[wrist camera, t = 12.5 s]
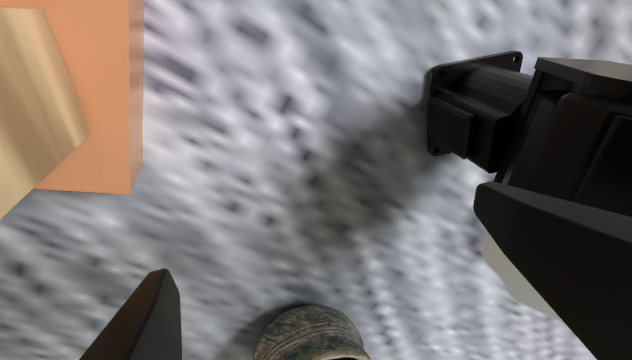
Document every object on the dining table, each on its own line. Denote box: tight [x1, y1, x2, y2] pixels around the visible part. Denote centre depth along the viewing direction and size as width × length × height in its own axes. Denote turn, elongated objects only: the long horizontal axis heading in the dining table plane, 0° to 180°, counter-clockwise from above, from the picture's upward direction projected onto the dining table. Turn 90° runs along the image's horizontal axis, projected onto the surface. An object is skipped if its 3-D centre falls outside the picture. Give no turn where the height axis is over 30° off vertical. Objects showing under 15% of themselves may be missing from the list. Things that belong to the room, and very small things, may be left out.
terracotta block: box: [0, 0, 144, 195], centre depth 15 cm, size 10×10×4 cm
